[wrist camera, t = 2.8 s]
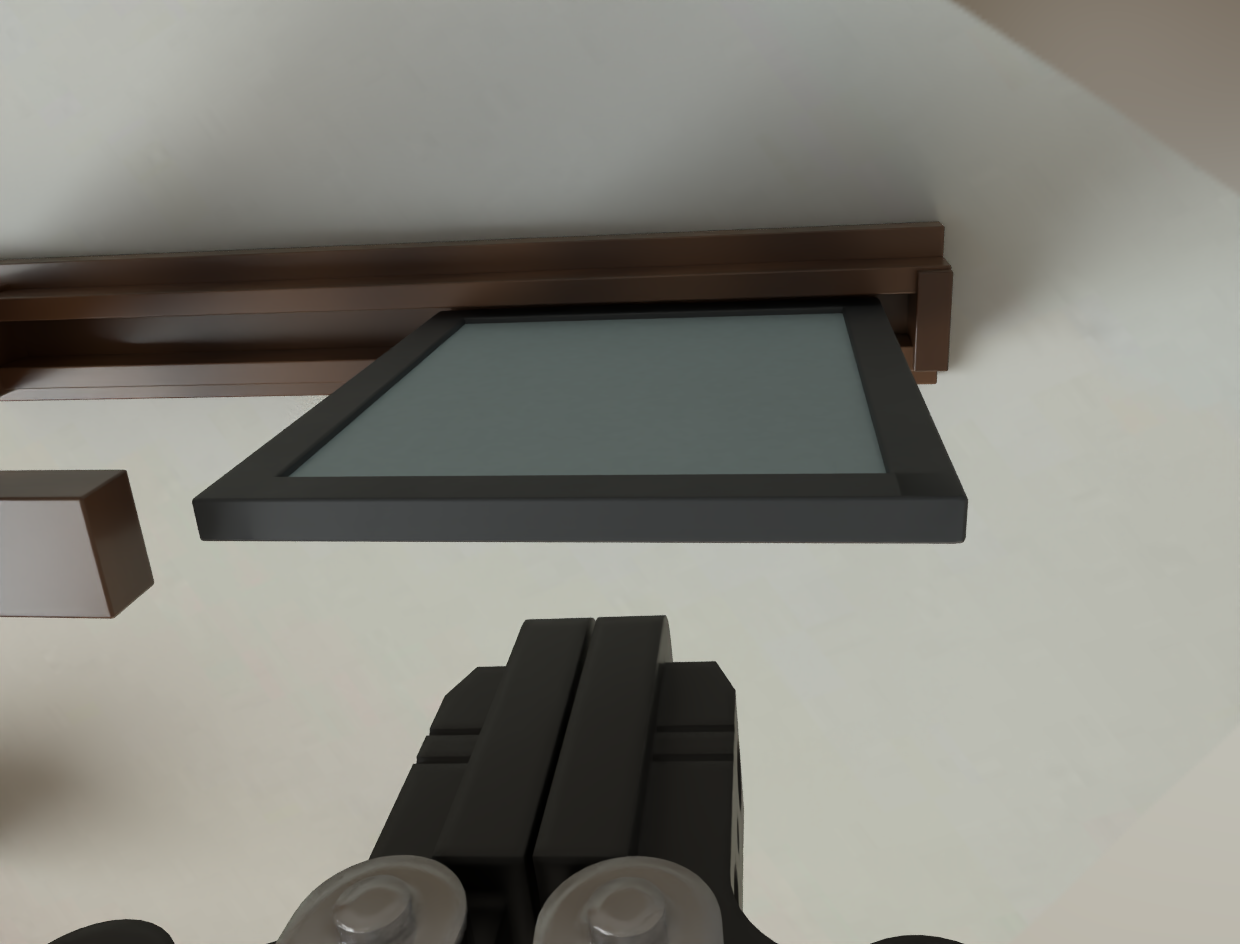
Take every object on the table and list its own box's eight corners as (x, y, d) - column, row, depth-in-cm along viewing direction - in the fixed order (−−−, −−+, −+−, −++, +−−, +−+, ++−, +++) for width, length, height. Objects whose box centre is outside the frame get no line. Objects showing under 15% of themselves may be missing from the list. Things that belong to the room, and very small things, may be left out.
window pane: (879, 297, 32) (969, 496, 18) (878, 325, 33) (966, 545, 18) (439, 310, 34) (189, 499, 20) (442, 337, 35) (199, 542, 20)
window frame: (940, 221, 32) (1136, 411, 15) (932, 375, 34) (1098, 706, 17) (-36, 260, 38) (-742, 438, 20) (2, 393, 39) (-615, 662, 22)
